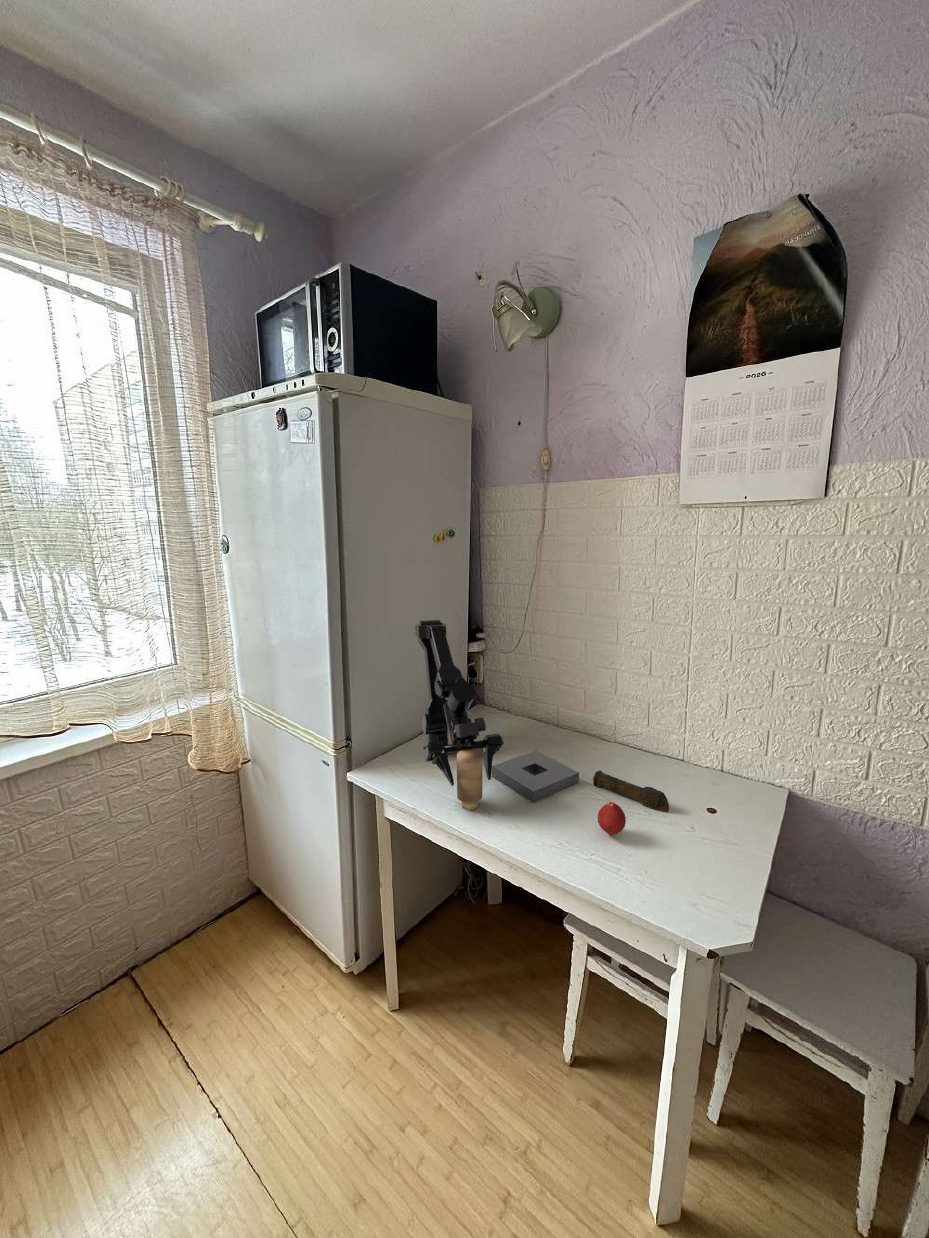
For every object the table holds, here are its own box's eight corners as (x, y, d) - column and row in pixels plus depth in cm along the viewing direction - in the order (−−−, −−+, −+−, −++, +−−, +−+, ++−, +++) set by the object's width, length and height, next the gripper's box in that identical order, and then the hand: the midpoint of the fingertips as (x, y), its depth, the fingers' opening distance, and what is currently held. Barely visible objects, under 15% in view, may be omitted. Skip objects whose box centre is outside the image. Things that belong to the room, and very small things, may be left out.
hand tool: (591, 787, 128) (591, 770, 128) (599, 781, 131) (600, 765, 130) (662, 818, 115) (663, 800, 114) (670, 812, 117) (672, 793, 116)
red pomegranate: (603, 823, 112) (605, 790, 111) (629, 833, 109) (631, 799, 107) (592, 835, 108) (594, 801, 107) (618, 846, 104) (620, 811, 103)
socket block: (491, 776, 134) (491, 766, 133) (535, 760, 143) (536, 750, 142) (533, 803, 121) (533, 791, 120) (578, 783, 130) (579, 772, 129)
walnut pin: (452, 804, 121) (451, 753, 118) (472, 796, 124) (472, 746, 122) (466, 815, 116) (466, 762, 113) (487, 807, 119) (487, 755, 117)
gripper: (426, 710, 117) (438, 777, 108) (501, 702, 122) (518, 764, 114) (419, 729, 125) (430, 792, 117) (490, 721, 131) (505, 780, 122)
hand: (471, 782), depth 117 cm, fingers open, 9 cm apart
